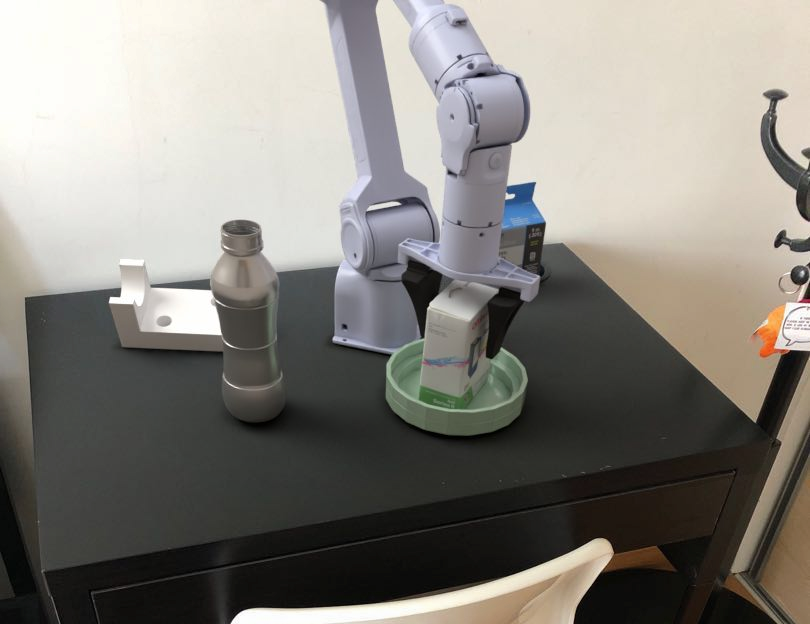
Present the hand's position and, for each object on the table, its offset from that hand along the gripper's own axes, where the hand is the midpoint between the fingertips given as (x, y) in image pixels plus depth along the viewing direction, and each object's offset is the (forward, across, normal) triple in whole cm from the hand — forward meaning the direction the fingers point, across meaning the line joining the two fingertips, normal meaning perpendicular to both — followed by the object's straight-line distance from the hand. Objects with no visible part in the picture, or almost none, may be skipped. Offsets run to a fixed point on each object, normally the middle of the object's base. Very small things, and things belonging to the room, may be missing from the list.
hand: (459, 343), depth 94 cm
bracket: (+7, +32, +6) cm, 34 cm away
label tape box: (+7, +7, -28) cm, 30 cm away
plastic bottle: (+7, +16, +14) cm, 23 cm away
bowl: (+7, 0, 0) cm, 7 cm away
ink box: (+6, 0, 0) cm, 7 cm away
